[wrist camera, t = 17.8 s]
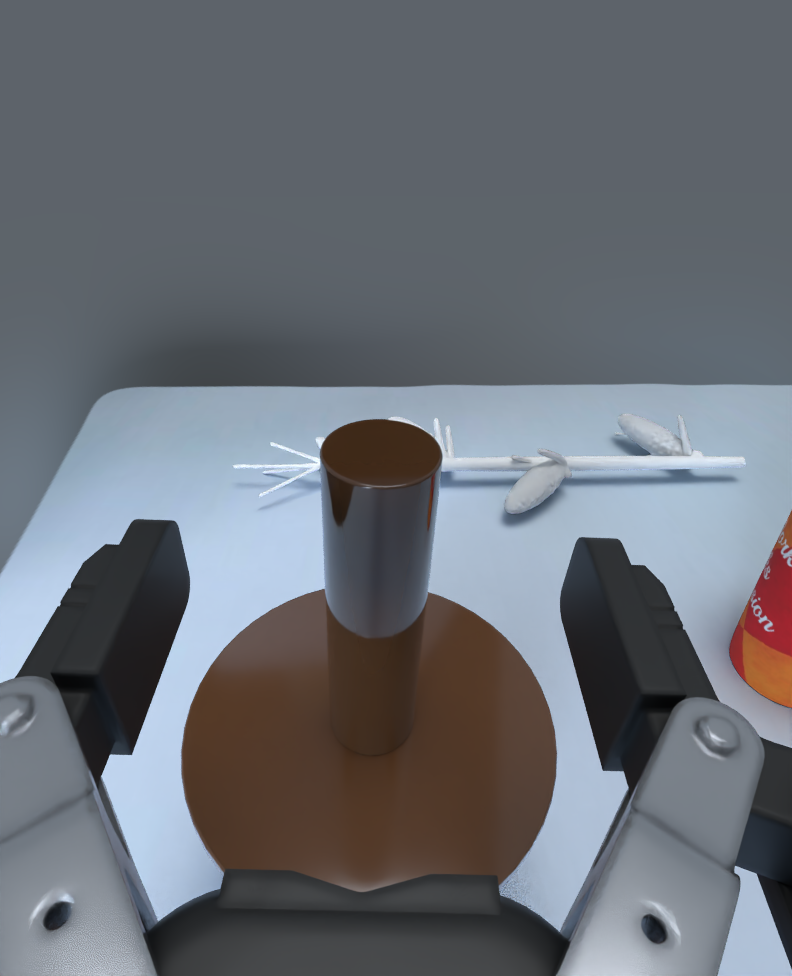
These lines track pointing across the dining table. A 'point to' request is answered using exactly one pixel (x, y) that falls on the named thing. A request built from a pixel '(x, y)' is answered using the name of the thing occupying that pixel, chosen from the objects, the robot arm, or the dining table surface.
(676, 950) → the robot arm
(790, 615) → the paper cup
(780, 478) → the dining table surface
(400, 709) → the paper towel holder
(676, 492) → the dining table surface
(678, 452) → the dried plant stem
